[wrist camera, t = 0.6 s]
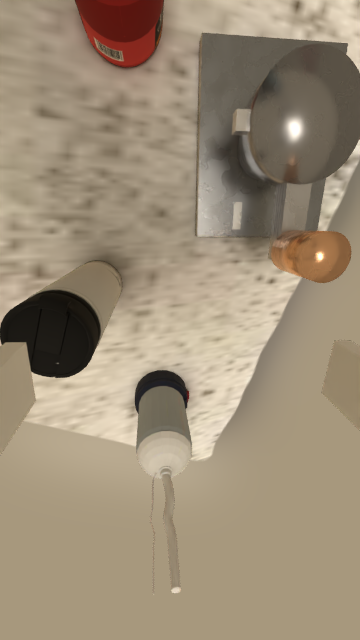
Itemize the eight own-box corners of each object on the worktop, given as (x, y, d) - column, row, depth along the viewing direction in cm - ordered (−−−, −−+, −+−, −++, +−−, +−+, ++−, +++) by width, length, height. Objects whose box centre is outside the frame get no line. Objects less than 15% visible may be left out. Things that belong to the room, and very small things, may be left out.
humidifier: (194, 400, 44) (242, 597, 21) (149, 420, 45) (147, 635, 21) (173, 361, 42) (202, 538, 18) (126, 383, 42) (94, 583, 19)
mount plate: (199, 42, 29) (215, -17, 22) (338, 51, 31) (395, 0, 24) (195, 236, 36) (206, 239, 29) (309, 236, 37) (346, 238, 30)
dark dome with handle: (233, 60, 24) (276, -27, 15) (365, 68, 25) (470, -8, 17) (221, 267, 30) (248, 284, 21) (328, 266, 31) (392, 281, 23)
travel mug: (128, 266, 36) (104, 312, 17) (115, 311, 38) (81, 396, 19) (81, 251, 35) (0, 282, 16) (70, 298, 37) (-13, 375, 18)
